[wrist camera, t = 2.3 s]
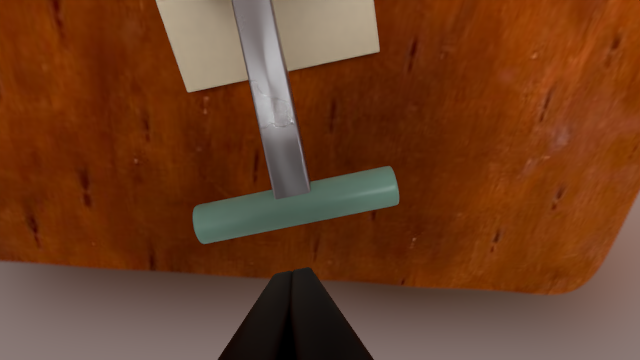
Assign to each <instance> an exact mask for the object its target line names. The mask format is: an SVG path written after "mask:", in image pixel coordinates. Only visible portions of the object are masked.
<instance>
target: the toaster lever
mask: <svg viewBox="0 0 640 360" xmlns="http://www.w3.org/2000/svg"><path fill="white" fill-rule="evenodd" d="M231 1H232V6H233V11H234V15H235V20H236V25H237V29H238V34H239V38H240V43H241V48H242V52H243V57H244V61H245V66H246V71H247V75H248V80H249V85H250V89H251V94H252V98H253V103H254V108H255V112H256V117H257V122H258V126H259V131H260V135H261V140H262V145H263V149H264V154H265V159H266V163H267V168H268V172H269V177H270V182H271V186H272V190H268V191H263V192H258V193H253V194H248V195H243V196H239V197H234V198H229V199H224V200H219V201H214V202H209V203H205V204H200V205H197V206H195V208H194V210H193V226H194V230H195V233H196V236H197V238H198V240H199V241H200V242H201V243H203V244H207V243H212V242H217V241H222V240H227V239H232V238H237V237H242V236H247V235H252V234H257V233H262V232H267V231H272V230H277V229H281V228H286V227H291V226H296V225H301V224H306V223H311V222H316V221H321V220H326V219H331V218H336V217H341V216H346V215H351V214H356V213H361V212H365V211H370V210H375V209H380V208H385V207H390V206H395V205H397V204H399V191H398V185H397V181H396V177H395V174H394V171H393V169H392V168H391V166H385V167H380V168H375V169H370V170H365V171H360V172H356V173H351V174H346V175H341V176H336V177H331V178H326V179H321V180H317V181H312V182H311V180H310V175H309V170H308V165H307V160H306V156H305V151H304V146H303V141H302V137H301V132H300V127H299V122H298V117H297V113H296V108H295V103H294V98H293V93H292V89H291V84H290V79H289V74H288V70H287V65H286V60H285V55H284V50H283V46H282V41H281V36H280V31H279V27H278V22H277V17H276V12H275V7H274V3H273V0H231Z"/></svg>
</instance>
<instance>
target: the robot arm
mask: <svg viewBox="0 0 640 360" xmlns="http://www.w3.org/2000/svg"><path fill="white" fill-rule="evenodd" d="M218 360H374V359H373V358H372V356H371V355H370V353H369V352H368V350H367V349H366V348H365V346H364V345H363V343H362V342H361V340H360V339H359V338H358V336H357V334H356V333H355V332H354V330H353V329H352V327H351V326H350V324H349V323H348V321H347V320H346V319H345V317H344V316H343V314H342V313H341V311H340V310H339V308H338V307H337V305H336V304H335V303H334V301H333V300H332V298H331V297H330V295H329V294H328V292H327V291H326V289H325V288H324V287H323V285H322V284H321V282H320V281H319V279H318V278H317V276H316V275H315V273H314V272H313V271H312V269H311V268H309V267H307V268H302V269H297V270H294V271H293V272H292V271H287V272H282V273H277V274H275V275H274V276H273V277H272V278H271V280H270V281H269V283H268V285H267V286H266V288H265V289H264V290H263V292H262V293H261V295H260V297H259V298H258V300H257V301H256V303H255V304H254V306H253V307H252V309H251V310H250V312H249V313H248V315H247V316H246V318H245V319H244V321H243V322H242V324H241V325H240V327H239V328H238V330H237V331H236V333H235V334H234V336H233V337H232V339H231V340H230V342H229V343H228V345H227V346H226V348H225V349H224V351H223V352H222V354H221V355H220V357H219V358H218Z"/></svg>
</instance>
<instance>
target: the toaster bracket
mask: <svg viewBox="0 0 640 360" xmlns="http://www.w3.org/2000/svg"><path fill="white" fill-rule="evenodd" d="M156 3H157V6H158V9H159V12H160V15H161V18H162V21H163V23H164V26H165V29H166V32H167V35H168V38H169V41H170V44H171V47H172V49H173V52H174V55H175V58H176V61H177V64H178V67H179V70H180V73H181V75H182V78H183V81H184V84H185V87H186V90H187V92H194V91H199V90H203V89H208V88H213V87H217V86H222V85H227V84H231V83H236V82H241V81H245V80H248V75H247V71H246V66H245V61H244V57H243V52H242V48H241V43H240V38H239V34H238V29H237V25H236V20H235V15H234V11H233V6H232V1H231V0H156ZM273 3H274V7H275V12H276V17H277V22H278V27H279V31H280V36H281V41H282V46H283V50H284V55H285V60H286V65H287V70H288V71H292V70H297V69H302V68H306V67H311V66H316V65H320V64H325V63H330V62H334V61H339V60H344V59H348V58H353V57H358V56H362V55H367V54H372V53H377V52H379V51H380V47H379V39H378V31H377V23H376V15H375V7H374V0H273Z"/></svg>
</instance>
